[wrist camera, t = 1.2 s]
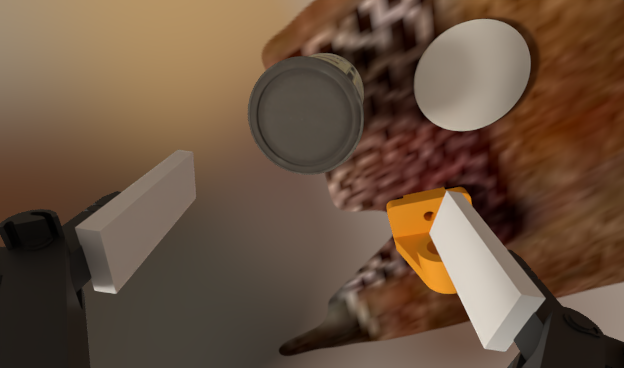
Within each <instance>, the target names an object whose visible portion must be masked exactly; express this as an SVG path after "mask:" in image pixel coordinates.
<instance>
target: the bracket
mask: <svg viewBox="0 0 624 368" xmlns="http://www.w3.org/2000/svg"><path fill="white" fill-rule="evenodd" d="M446 191H453V192H459V193H462V194H463V195H464V197H465V198H466V199H467V200H468V202H469V203H470V204H471V205H472V202H471V197H470V195H469V194H468V193H467V191H466V190H465V189H464V188H462V187H456V188H451V189H446V190H445V188H444V187H443V188H438V189H433V190H428V191H423V192H418V193H413V194H409V195H404V196H403V198H402V199H397V200H392V201H390V202H388V204H387V214H388V218H389V222H390V225H391V229H392V233H393V237H394V240H395V244H396V248H397V250H398V251H399V253H400V254H401V255H402V256H403V257H404V259H405V260H406V261H407V262H408V263H409V265H410V266H411V267H412V268H413V269H414V270H415V272H416V273H417V274H418V275H419V276H420V278H421V279H422V280H423V281H424V282H425V284H426V285H427V286H428V287H429V288H431V289H432V290H434V291H436V292H440V293H445V294H453V293H457V290H456V288H455V286H454V284H453V282H452V280H451V278H450V276H449V274H448V272H447V270H446V267H445V265H444V263H443V261H442V259H441V257H440V255H439V253H438V251H437V249H436V246H435V244H434V242H433V240H432V238H431V236H430V234H429V232H430V230H431V227H432V225H433V223H434V220H435V218H436V215H437V213H438V210H439V208H440V206H441V203H442V201H443V198H444V196H445V193H446Z"/></svg>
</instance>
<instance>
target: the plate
mask: <svg viewBox="0 0 624 368" xmlns="http://www.w3.org/2000/svg"><path fill="white" fill-rule="evenodd" d="M530 67H531V60H530V53H529V49H528V46H527V44H526V42H525V40H524V39H523V37H522V36H521V35H520V34H519V32H518V31H517V30H515V29H514V28H513V27H511V26H510V25H508V24H506V23H504V22H501V21H497V20H492V19H477V20H471V21H467V22H463V23H460V24H458V25H455V26H453V27H451V28H449V29H448V30H446V31H444V32H443V33H442V34H440V35H439V36H438V37H437V38H436V39H434V40H433V41H432V43H431V44H430V45H429V46H428V47H427V49H426V50H425V51H424V53H423V54H422V56H421V58H420V60H419V62H418V65H417V67H416V71H415V75H414V95H415V99H416V102H417V104H418V106H419V108H420V109H421V111H422V112H423V113H424V115H425V116H426V117H427V118H428V119H429V120H430V121H431V122H433V123H434V124H436V125H438V126H440V127H442V128H445V129H448V130H453V131H469V130H475V129H478V128H482V127H484V126H487V125H489V124H491V123H493V122H495V121H496V120H498V119H499V118H501V117H502V116H503V115H505V114H506V113H507V112H508V111H509V110H510V109H511V108H512V107H513V106H514V105H515V104H516V102H517V101H518V100H519V98H520V97H521V95H522V93H523V92H524V89H525V87H526V85H527V82H528V79H529V75H530Z"/></svg>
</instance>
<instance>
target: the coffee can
mask: <svg viewBox="0 0 624 368" xmlns="http://www.w3.org/2000/svg"><path fill="white" fill-rule="evenodd" d="M363 100H364V87H363V83H362V79H361V77H360V75H359V73H358V71H357V70H356V68H355V67H354V66H353V65H352V64H351V63H350V62H349V61H347V60H346V59H344V58H343V57H340V56H338V55H335V54H330V53H319V54H314V55H312V56H308V57H306V56H299V57H292V58H288V59H285V60H282V61H280V62H278V63H276V64H274V65H273V66H271V67H270V68H268V69H267V70H266V71H265V72H264V73H263V74H262V75H261V76H260V78H259V79H258V81H257V82H256V84H255V86H254V88H253V90H252V93H251V96H250V99H249V104H248V121H249V126H250V130H251V133H252V136H253V138H254V140H255V142H256V144H257V146H258V147H259V149H260V150H261V151H262V153H263V154H264V155H265V156H266V157H267V158H268V159H269V160H270V161H272V162H273V163H274V164H276V165H277V166H279V167H281V168H283V169H285V170H287V171H290V172H293V173H297V174H304V175H313V174H320V173H324V172H327V171H330V170H332V169H334V168H336V167H338V166H339V165H341V164H342V163H343V162H344V161H346V160H347V159H348V158H349V157H350V156H351V154H352V153H353V152H354V150H355V149H356V147H357V145H358V143H359V141H360V138H361V135H362V132H363V125H364V110H363Z"/></svg>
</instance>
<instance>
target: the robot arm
mask: <svg viewBox="0 0 624 368" xmlns="http://www.w3.org/2000/svg"><path fill="white" fill-rule="evenodd" d="M195 198H196V191H195V176H194V160H193V152H190V151H182V150H177V151H176V152H175V153H173V154H172V155H170V156H169V157H168V158H167V159H165V160H164V161H163V162H161V163H160V164H159V165H157V166H156V167H155V168H153V169H152V170H151V171H149V172H148V173H147V174H145V175H144V176H143V177H142V178H140V179H139V180H137V181H136V182H135V183H133V184H132V185H131V186H129V187H128V188H127V189H125V190H124V191H123V192H118V191H117V192H114V193H111V194H109V195H106V196H104V197H102V198H101V199H99V200H98V201H97V202H95V203H94V204H93V206H92V205H91V206H89V207H88V208H87V209H85V211H84V212H83V211H82V212H81V213H80V214H78V215H77V216H75V217H74V218H73V219H71V220H70V221H69V222H67V223H66V224H64V225H63V226H61V224H60V221H59V218H58V215H57V213H56V212H54V211H51V210H44V209H40V210H30V211H26V212H22V213H18V214H16V215H14V216H11V217H9V218H7V219H6V220H4V221H3V222H1V223H0V235H1V237H2V239H3V241H4V243H5V246H6V247H0V368H90V355H89V343H88V331H87V319H86V308H85V296H84V291H83V289H82V287H83V286H84V285H85V284H86V283H87V282H88V281H89V280H90V279H91V281H92V284H93V287H94V290H95V291H101V292H108V293H115V294H116V293H117V292H118V291H119V289H121V287H122V286H123V285H124V284H125V283H126V281H127V280H128V279H129V278H130V277H131V275H132V274H133V273H134V272H135V271H136V269H137V268H138V267H139V266H140V265H141V263H142V262H143V261H144V260H145V259H146V257H147V256H148V255H149V254H150V253H151V251H152V250H153V249H154V248H155V247H156V245H157V244H158V243H159V242H160V241H161V239H162V238H163V237H164V236H165V234H166V233H167V232H168V231H169V230H170V229H171V227H172V226H173V225H174V223H176V221H177V220H178V219H179V218H180V217H181V215H182V214H183V213H184V212H185V210H186V209H187V208H188V207H189V206H190V204H191V203H192V202H193V201H194V200H195ZM429 234H430V236H431V238H432V240H433V242H434V244H435V246H436V249H437V251H438V253H439V255H440V257H441V259H442V261H443V263H444V265H445V267H446V270H447V272H448V274H449V276H450V278H451V280H452V282H453V284H454V286H455V288H456V290H457V293H458V295H459V297H460V299H461V301H462V303H463V305H464V307H465V309H466V311H467V313H468V316H469V318H470V320H471V322H472V324H473V326H474V328H475V330H476V332H477V334H478V336H479V339H480V341H481V343H482V345H483V347H484V349H490V350H497V351H504V352H506V350H507V349H508V348H509V347H510V345H511V344H512V342H513V341H514V342H515V343H516V345H517V347H518V348H519V350H520V352H519V354H518V355H517V356H516V357H515V359H514V360H513V361H512V362H511V364H510V365H509V366H508V368H624V342H622V341H619V340H617V339H614V338H611V337H608V336H606V335H603V332H602V331H601V330H600V329H599V327H598V326H597V325H596V324H595V323H594V322H592V321H591V320H590V319H589V318H587V317H586V316H584V315H583V314H581V313H579V312H577V311H575V310H573V309H571V308H567V307H563V306H562V305H561V304H560V303H559V302H558V301H557V299H556V298H555V297H554V296H553V295H552V293H551V292H550V291H549V290H548V289H547V287H546V286H545V285H544V284H543V283H542V281H541V280H540V279H538V277H537V275H536V274H535V273H534V272H533V271H531V268H530V267H529V266H528V265H527V264H526V262H525V261H524V260H523V259H522V258H521V257H519V256H518V255H517V254H515V253H514V252H513V251H512V250H507V249H506V248H505V247H504V245H503V244H502V243H501V242H500V240H499V239H498V238H497V237H496V235H495V234H494V233H493V232H492V230H491V229H490V228H489V227H488V225H487V224H486V223H485V222H484V220H483V219H482V218H481V217H480V215H479V214H478V213H477V212H476V210H475V209H474V208H473V207H472V205H471V204H470V203H469V202H468V200H467V199H466V198H465V197H464V195H463V194H462V193H459V192H453V191H446V193H445V196H444V198H443V201H442V203H441V206H440V208H439V210H438V213H437V215H436V218H435V220H434V223H433V225H432V227H431V230H430V232H429Z"/></svg>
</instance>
